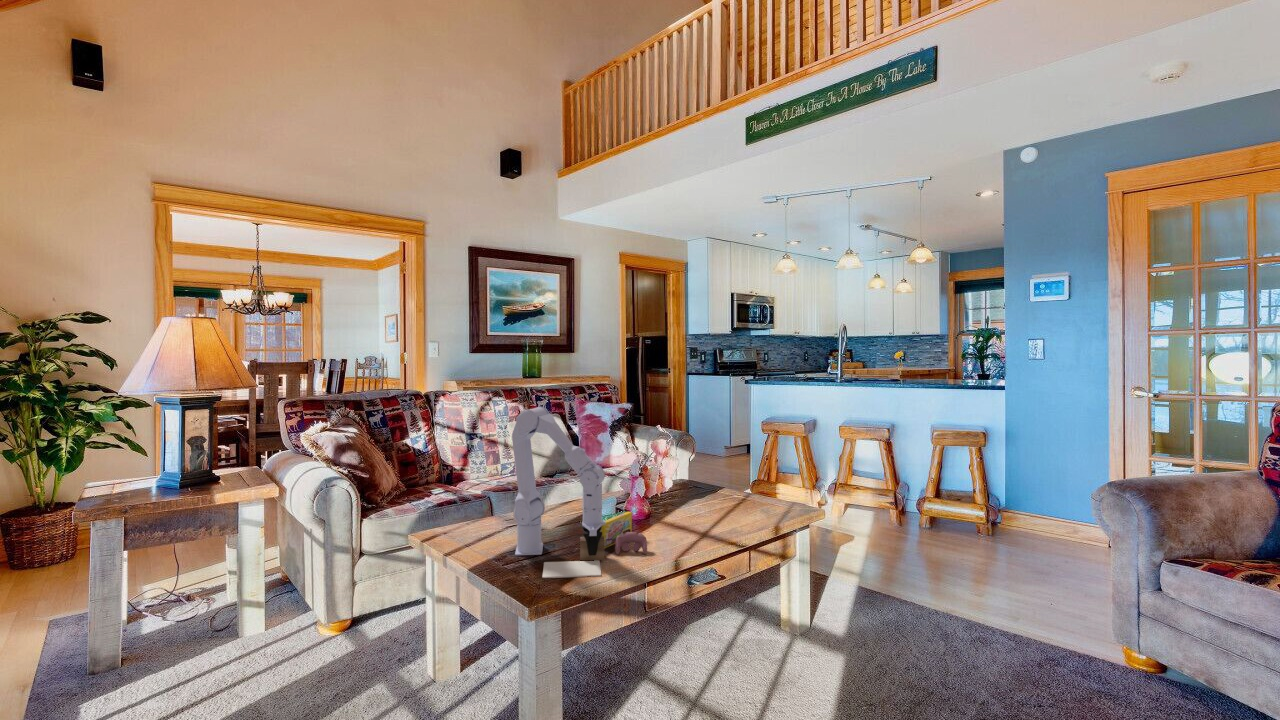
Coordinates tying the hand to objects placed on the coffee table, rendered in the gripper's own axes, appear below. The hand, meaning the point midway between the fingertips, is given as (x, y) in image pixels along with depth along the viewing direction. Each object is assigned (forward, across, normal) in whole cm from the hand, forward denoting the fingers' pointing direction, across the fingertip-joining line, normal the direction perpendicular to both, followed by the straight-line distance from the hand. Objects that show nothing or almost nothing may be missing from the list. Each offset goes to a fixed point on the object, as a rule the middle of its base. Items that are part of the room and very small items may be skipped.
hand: (592, 552), depth 182 cm
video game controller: (+2, +4, -12) cm, 13 cm away
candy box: (+2, +14, -8) cm, 16 cm away
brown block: (+2, 0, 0) cm, 2 cm away
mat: (+2, -8, +6) cm, 11 cm away
